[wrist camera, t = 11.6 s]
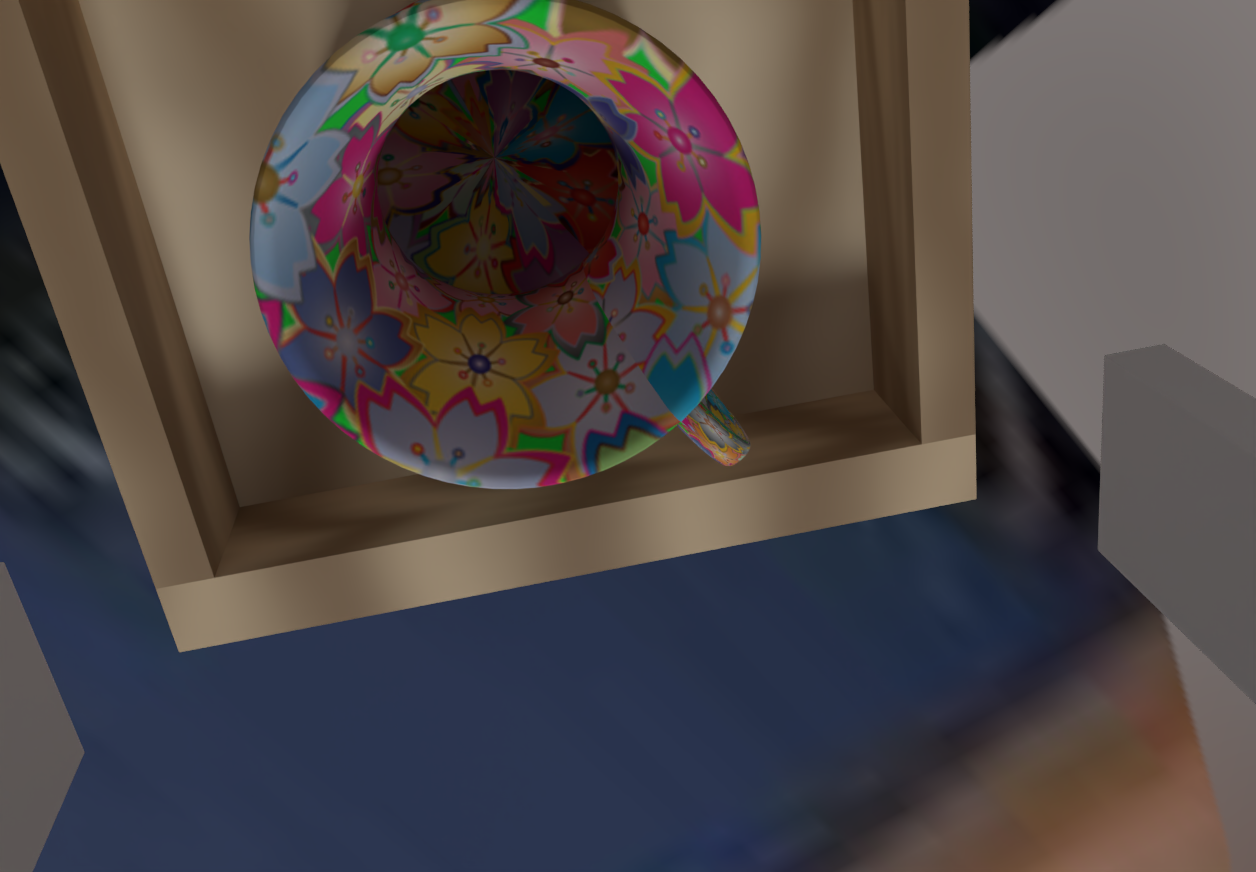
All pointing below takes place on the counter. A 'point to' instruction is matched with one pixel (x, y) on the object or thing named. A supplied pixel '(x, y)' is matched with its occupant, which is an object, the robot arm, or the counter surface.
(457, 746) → the counter surface
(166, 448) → the wooden tray
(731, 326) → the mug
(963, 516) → the counter surface
